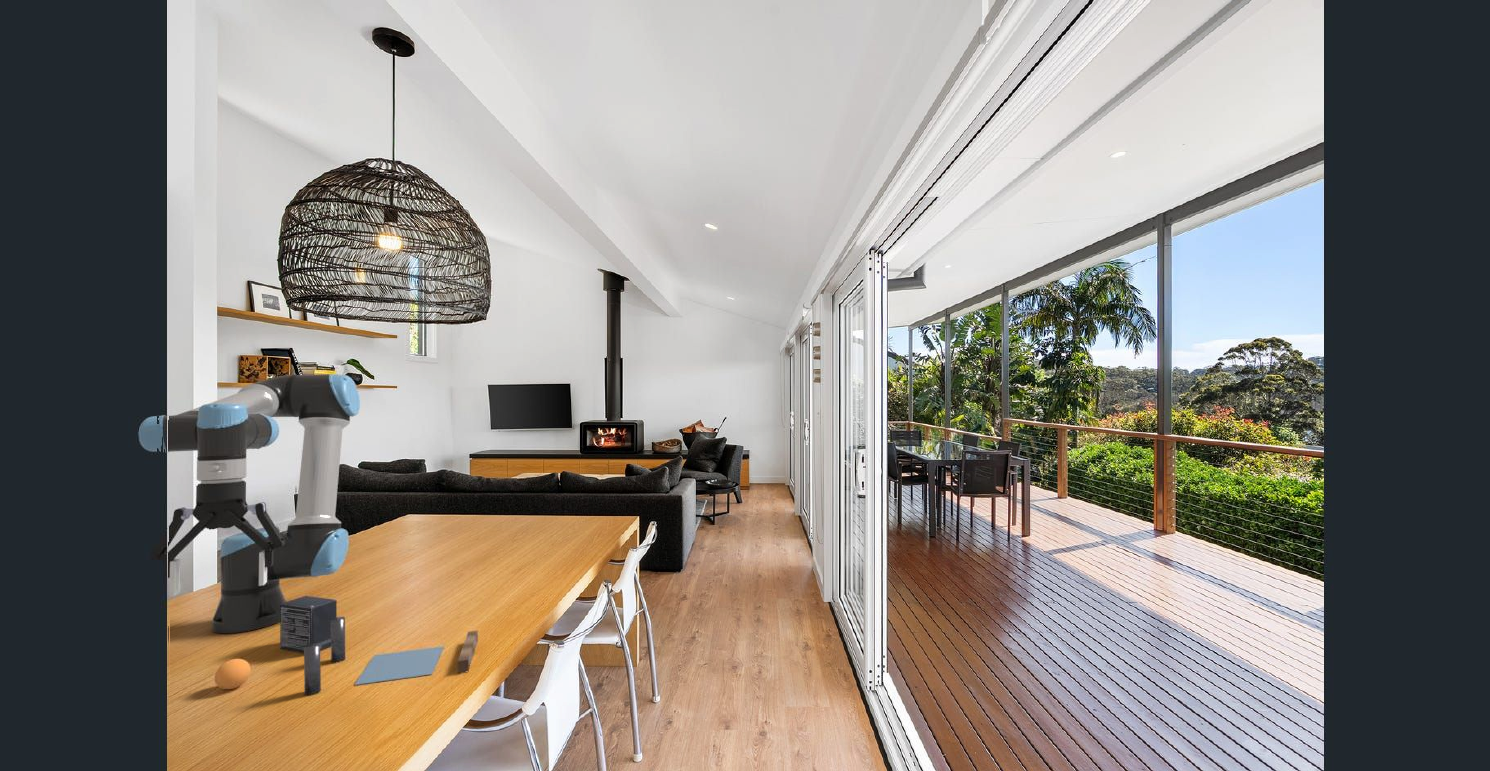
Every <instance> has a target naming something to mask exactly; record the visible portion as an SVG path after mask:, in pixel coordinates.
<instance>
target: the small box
mask: <svg viewBox="0 0 1490 771" xmlns="http://www.w3.org/2000/svg"><path fill="white" fill-rule="evenodd" d="M280 617H281V618H280V622H279V623H280V628H279V629H280V631H279V632H280V633H279V634H280V635H279V637H280V639H279V649H280V650H284V651H291V652H296V653H302V654H304V647H305V646H307V645H310V644H314V643H319V644H320V651H323V650H325V649H328V648H331V619H333V618H336V617H338V616H337V599H332V598H325V597H319V596H318V597H316V596H312V595H311V596H310V595H305V596H302V597H298V598H295V599H291V600H290V599H289V600H288V601H287V600H286V602H283V603H280Z"/></svg>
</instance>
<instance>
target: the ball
mask: <svg viewBox="0 0 1490 771" xmlns="http://www.w3.org/2000/svg"><path fill="white" fill-rule="evenodd" d="M251 668H252V667H251V665H250V664H249V662H248V661H247V660H245V659H241V658H232V659H229V660H227V661H225V662H224V663H222V664H221V665H220V666H219V667H218V669H217V670H216V672H215V674H214V682H215V684H216V686H218V687H219V688H220V689H223V690H232V689H236V688H238V687H240V686H242V685H243V684H244V683H246V682H247V681H248V679H249V677H250V675H251V671H252V669H251Z"/></svg>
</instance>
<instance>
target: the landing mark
mask: <svg viewBox="0 0 1490 771" xmlns="http://www.w3.org/2000/svg"><path fill="white" fill-rule="evenodd" d="M444 648H445V646H444V645H443V646H435V647H429V648H428V647H426V648H420V649H412V650H404V651H397V652H389V653H382V654H374V655H373V657H372V658H371V659H370V661H369V662H368V664H367V666H365V668H364V669H363V671H362V672H361V674H360V676H359V677H358V678H357V680H356V682H355V683H354V687H355V686H360V685H361V686H362V685H368V684H376V683H384V682H390V681H397V679H399V680H404V679H410V678H419V676H420V677H426V676H425V675H427V676H432V675H433V674H434V671H435V669H436V667H435V666H437V664H438V663H439V660H440V658H439V657H441V655H442V652H443V651H442V650H444ZM431 674H432V675H431Z"/></svg>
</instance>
